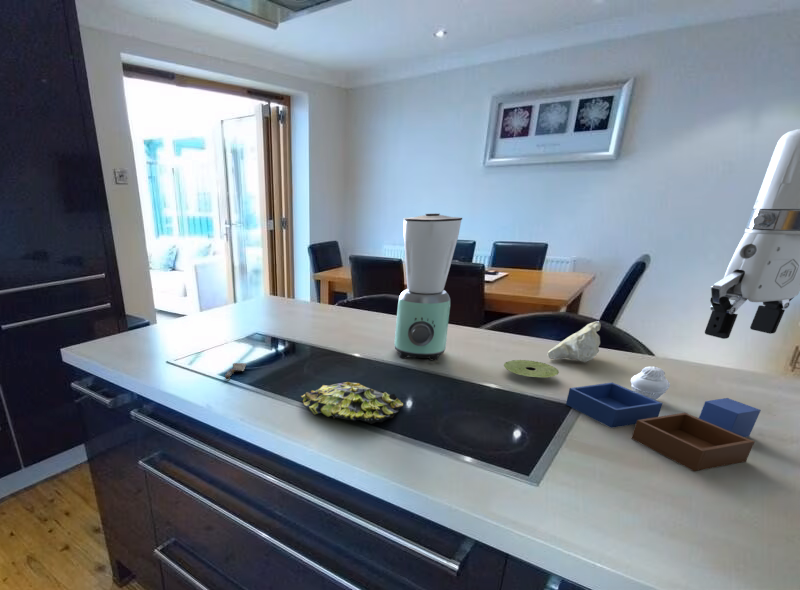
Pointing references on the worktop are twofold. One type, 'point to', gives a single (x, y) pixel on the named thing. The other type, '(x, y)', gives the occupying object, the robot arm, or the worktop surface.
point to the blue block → (730, 415)
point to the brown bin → (692, 441)
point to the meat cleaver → (235, 369)
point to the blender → (426, 285)
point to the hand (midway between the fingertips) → (739, 333)
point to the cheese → (578, 344)
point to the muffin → (650, 382)
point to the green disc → (531, 368)
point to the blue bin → (612, 404)
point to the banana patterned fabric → (352, 402)
